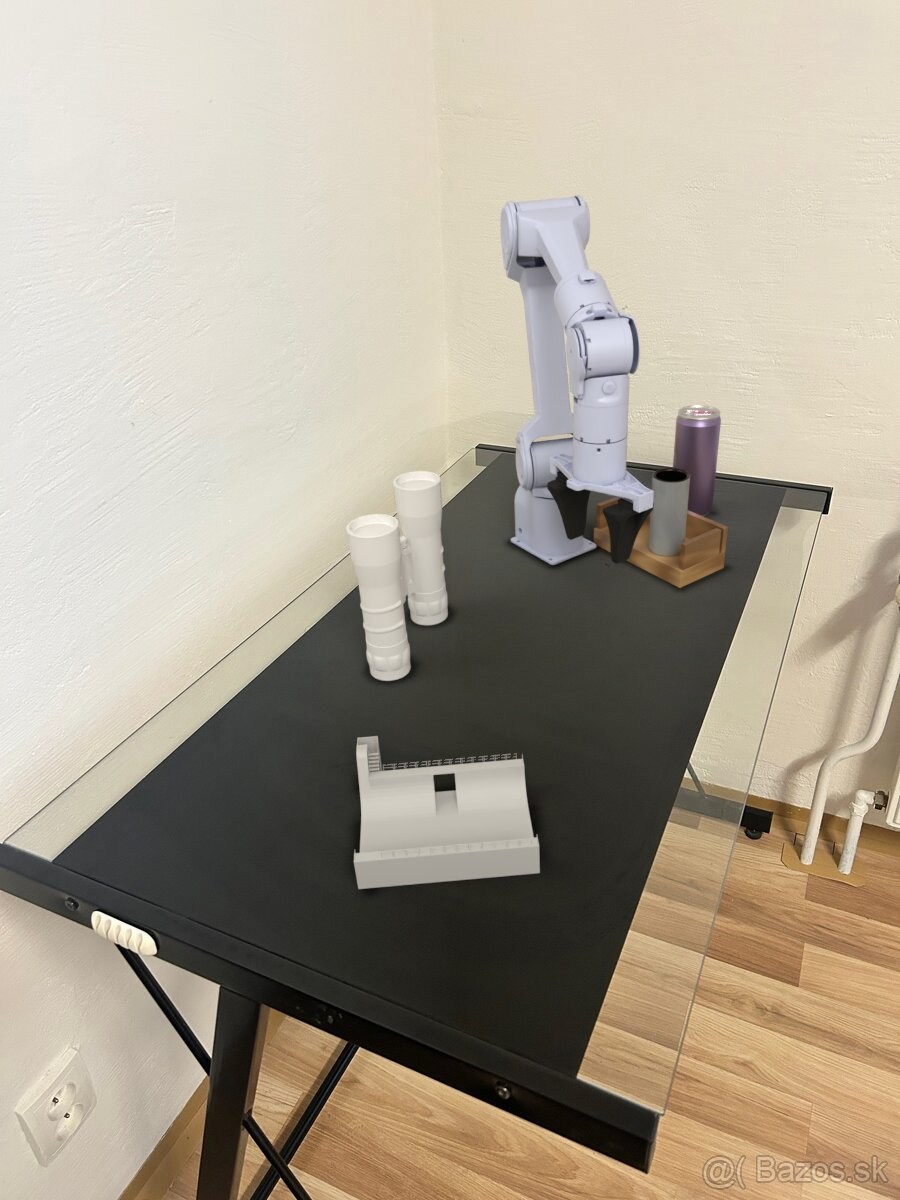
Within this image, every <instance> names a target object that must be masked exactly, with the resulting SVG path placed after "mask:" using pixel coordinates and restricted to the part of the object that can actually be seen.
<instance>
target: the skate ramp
mask: <svg viewBox="0 0 900 1200" xmlns="http://www.w3.org/2000/svg"><path fill="white" fill-rule="evenodd" d="M356 739H357V740H356V742H357V743H356V750H355V751H356V753H355V754H356V767H357V775H358V776H357V777H358V778H357V779H358V785H359V786H358V787H359V797H360V799H359V800H360V814H361V817H360V835H359V836H360V837H359V852H356V850H354V852H353V866H354V871H355V878H356V884H357V889H358V890H365V889H375V888H376V889H377V888H387V887H388V888H389V887H398V886H399V887H400V886H409V885H420V884H433V883H444V882H454V881H455V882H456V881H466V880H477V879H491V878H499V877H500V878H501V877H511V876H522V875H523V876H524V875H535V874H540V873H541V867H540V866H541V864H540V859H541V858H540V841H539V837H538V835H536V837H534V830H533V826H532V820H531V815H530V808H529V803H528V796H527V786H526V773H525V771H526V769H525V762H524V755H523V754H521V758H517V754H518V753H515V756H514V759H508V758H509V755H510V753H506V754H503V756H504V757H502V759H503V760H497V757H498V756H499V754H493V755H492V758H491V761H485V760H486V758H485V757H487V755H483V756H481V755H480V758H481V759H479V761H480V762H473V759H474V758H475V756H471V757H469V760H468V762H469V763H463V762H462V760H463V759H464V757H460V758H457V760H458V761H456V763H457V764H451V761H452V759H451V758H448V759H446V762H445V764H447V765H440V763H441V759H439V760H438V759H437V760H434V762H435V763H433V766H428V765H430V760H428V761H427V760H425V761H423V763H425V764H422V766H423V767H417V764H418V761H416V762H415V761H414V762H412V761H411V765H410V767H411V768H406V766H407V762H402V763H400V766H399V768H401V769H395V768H396V763H390V764H388V766H390V767H387V769H389V770H385V767H384V766H385V765H383V764H382V757H381V749H380V742H379V736H378V735H373V736H363V737H359V736H358V737H357V738H356ZM459 760H460V761H459ZM492 760H493V761H492ZM436 761H437V763H436ZM481 761H482V762H481ZM412 764H414V765H412ZM436 764H437V765H436ZM401 765H403V766H401ZM435 765H436V766H435ZM402 767H403V768H402ZM448 774H449V775H450V774H454V783H455V790H444V791H436V789H435V788H436V787H435V778H434V776H436V775H448Z"/></svg>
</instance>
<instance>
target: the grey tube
mask: <svg viewBox="0 0 900 1200" xmlns="http://www.w3.org/2000/svg"><path fill="white" fill-rule="evenodd" d="M689 485H690V474H689V473H688V472H687V471H685V470H682V469H678V468H673V467H663V468H660V469H657V470H655V471H654V472H653V473H652V476H651V490H653V491H654V495H653V503H654V508H653V510H652V511H651V513H650V528H649V550H650V551H651V552H653V553H655V554H657V555H661V556H674V555H678V554H680V545H681V543H682V542H685V535H686V522H687V510H688V497H689Z"/></svg>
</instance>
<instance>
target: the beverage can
mask: <svg viewBox="0 0 900 1200" xmlns="http://www.w3.org/2000/svg"><path fill="white" fill-rule="evenodd" d="M721 424H722V418H721V410H720V409H718V408H717V407H715V406H712V405H711V406H710V405H703V404H694V405H693V404H692V405H685V406H683V407H680V408H679V409H678V411H677V416H676V418H675V431H674V432H675V433H674V445H673V458H672V459H673V461H672V468H678V469H682V470H685V471H687V472H688V473H689V474H690V485H689V497H688V510H689V511H691V512H694V513H696V514H698V515H701V516H703V517H706V516H708V515H709V514H710V513H711V512H712V510H713V507H714V496H715V487H716V477H717V467H718V457H719V456H718V454H719V447H720V446H719V445H720V435H721Z"/></svg>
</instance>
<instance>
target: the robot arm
mask: <svg viewBox="0 0 900 1200" xmlns="http://www.w3.org/2000/svg"><path fill="white" fill-rule="evenodd" d="M589 208H590V207H589V205H588V203H587V201H586V200H585V198H584V197H583V196H582V195H581V194H575V195H574V196H568V197H558V198H547V199H545V198H544V199H535V200H526V201H513V200H508V201H506V202H505V203H504V205H503V207H502V209H501V211H500V221H499V223H500V225H499V226H500V243H501V252H502V262H503V268H504V270H505V276H506V278H508V279H510V280H513V281H515V282H517V283H518V285H519V288H520V291H521V296H522V301H523V308H524V317H525V318H524V319H525V328H526V329H525V330H526V340H527V350H528V361H529V370H530V371H529V372H530V380H531V381H530V382H531V392H532V399H533V400H532V401H533V411H534V415H533V416H532V417H531V418H530V419H529V420H528V421H526V423H525V424H523V425H522V427H520V429H518V431H517V433H516V437H515V469H516V476H517V480H518V484H519V486H518V488H517V490H516V492H515V495H514V500H513V501H514V503H513V504H514V533H515V536H513V537H511V538H510V543H512V544H514V545H515V546H517V547H519V548H521V549H522V550H525V551H526V552H528V553H529V554H531V555H533V556H535V557H537V558H538V559H539V560H541V561H543V562H545V563H547V564H549V565H551V566H555V565H558V564H560V563H563V562H565V561H567V560H570V559H572V558H575V557H577V556H580V555H583V554H585V553H588V552H590V551H592V550H595V549H596V548H597V547H598V546H597V545H596V544H595V543H594V541H591V540H589V539H587V538H585V537H584V535H585V533H586V528H587V515H588V506H589V499H590V495H591V492H595V493H600V494H604V495H606V496H609V497H611V498H616V499H618V504H614V505H611V506H609V507H606V508H604V509H603V514H604V516H605V518H606V521H607V524H608V528H609V533H610V551H611V552H610V558H611V562H612V563H614V564H616V565H618V564H620V563H622V562H625V561H626V560H627V559H629V558H630V555H631V552H632V548H633V545H634V543H635V540H636V537H637V535H638V533H639V530H640V528H641V527H642V525H643V523H644V521H645V520H646V518H647V517H648V515H649V514H650V513H651V511H652V510H653V508H654V503H653V495H654V491H653V490H652V489H651V488H648V487H646V486H645V485H644V484H642V483H641V482H640V481H639V480H638V479H637V478H636V477H634V475H632V474H631V473H630V472H629V471H628V470H627V460H628V459H627V457H628V456H627V455H628V432H629V431H628V428H629V406H630V405H629V401H630V384H631V383H630V382H631V381H630V379H631V377H630V376H629V374H630V375H634V374H635V373H636V372H637V370H638V368H639V365H640V359H641V340H640V333H639V329H638V325H637V323H636V320H635V318H634V316H633V315H631V314H626V312H625V311H619V310H618V308H617V306H616V303H615V302H614V299H613V297H612V295H611V291H610V290H609V288H608V286H607V282H606V281H605V279H604V277H603V276H602V275H601V273H599V272H597V271H595V270H592V269H590V266H589V263H588V260H587V256H586V252H585V250H586V248H587V245H588V243H589V240H590V235H591V214H590V209H589ZM565 336H566V339H565ZM570 393H571V394H572V395H573V396H572V397H573V398H572V399H573V402H572V403H573V407H572V408H571V397H570ZM572 409H573V412H572ZM562 435H570V436H572V437H564V438H555V439H547V440H539V441H535V440H536V439H539V438H543V437H552V436H553V437H554V436H562Z"/></svg>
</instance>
